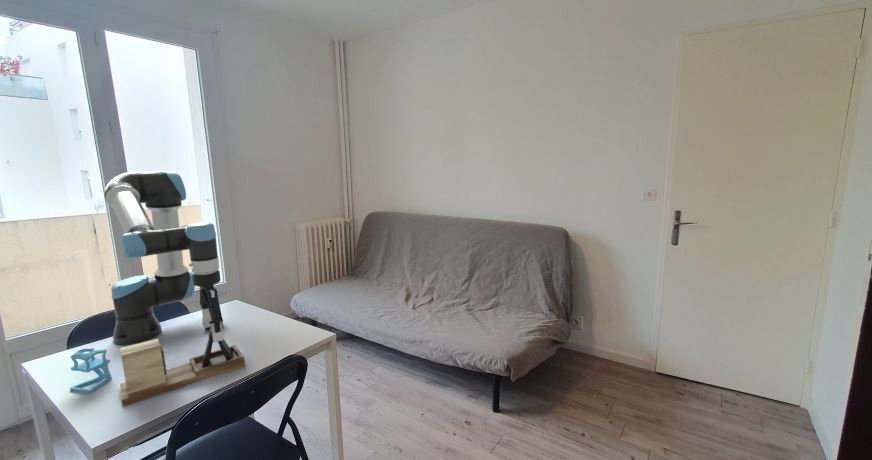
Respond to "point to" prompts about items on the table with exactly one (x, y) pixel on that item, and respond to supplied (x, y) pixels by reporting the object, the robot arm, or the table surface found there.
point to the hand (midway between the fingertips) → (213, 333)
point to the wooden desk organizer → (185, 376)
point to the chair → (91, 368)
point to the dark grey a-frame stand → (212, 361)
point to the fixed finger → (143, 365)
